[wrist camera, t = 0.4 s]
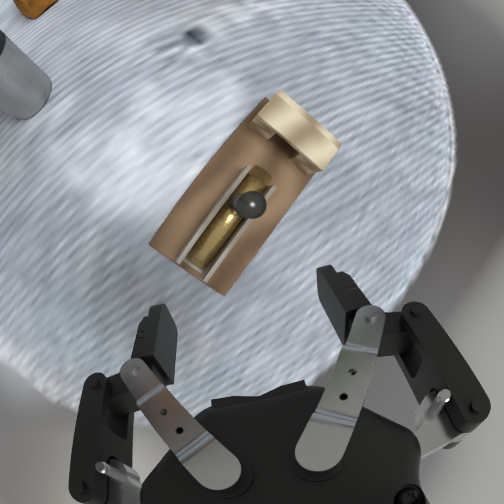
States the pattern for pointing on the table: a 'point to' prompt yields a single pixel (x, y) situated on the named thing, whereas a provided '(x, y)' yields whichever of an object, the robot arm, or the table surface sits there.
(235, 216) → the brass sliding bolt
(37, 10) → the coffee package
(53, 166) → the table surface
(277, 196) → the guide
